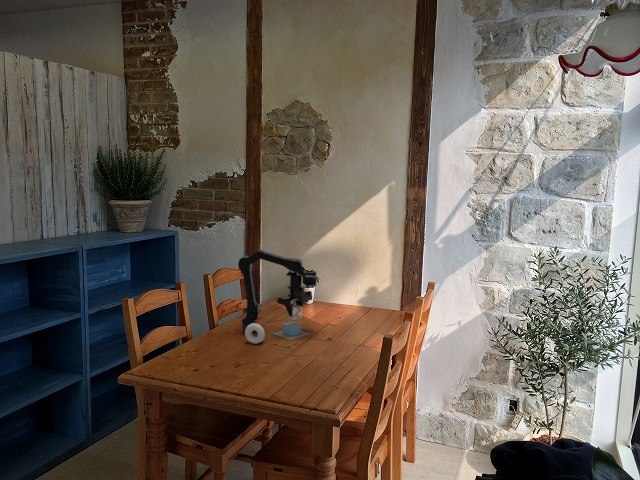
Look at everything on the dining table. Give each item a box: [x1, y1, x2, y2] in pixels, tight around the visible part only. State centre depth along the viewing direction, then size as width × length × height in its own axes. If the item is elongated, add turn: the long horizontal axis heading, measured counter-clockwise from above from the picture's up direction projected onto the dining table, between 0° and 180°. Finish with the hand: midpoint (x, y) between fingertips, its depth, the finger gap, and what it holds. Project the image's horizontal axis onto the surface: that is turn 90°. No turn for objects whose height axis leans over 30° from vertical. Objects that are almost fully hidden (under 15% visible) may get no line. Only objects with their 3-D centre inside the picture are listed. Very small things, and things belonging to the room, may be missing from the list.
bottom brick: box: [282, 321, 301, 336], centre depth 261 cm, size 6×6×5 cm
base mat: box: [271, 329, 311, 341], centre depth 262 cm, size 14×14×1 cm
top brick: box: [286, 303, 303, 321], centre depth 260 cm, size 5×5×6 cm
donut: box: [244, 322, 266, 345], centre depth 248 cm, size 10×3×10 cm, turn 73°
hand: (294, 315), depth 260 cm, fingers closed on top brick, 5 cm apart
